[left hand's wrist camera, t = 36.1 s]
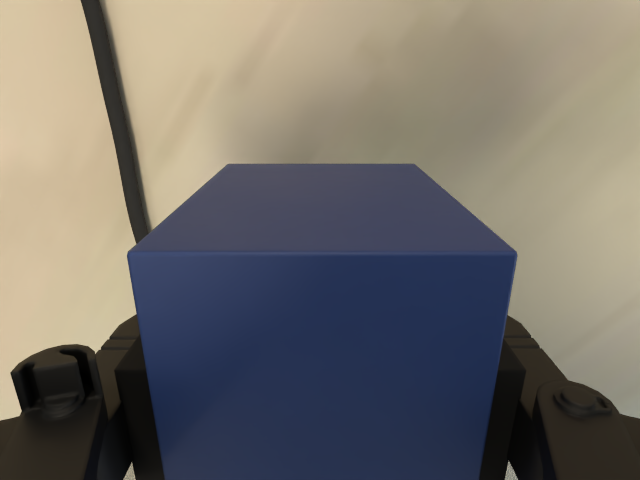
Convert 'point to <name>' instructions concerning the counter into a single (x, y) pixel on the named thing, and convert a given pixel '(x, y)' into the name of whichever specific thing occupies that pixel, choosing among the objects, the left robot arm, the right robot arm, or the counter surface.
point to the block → (321, 326)
